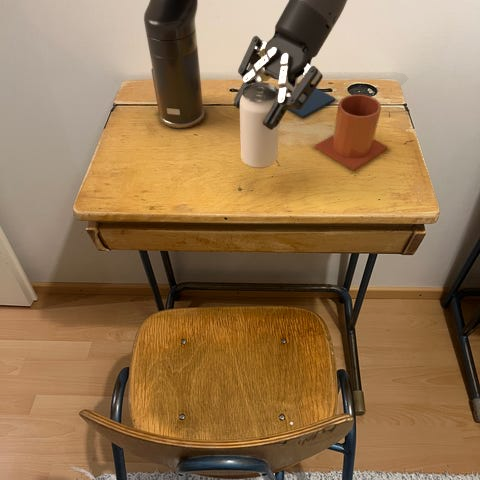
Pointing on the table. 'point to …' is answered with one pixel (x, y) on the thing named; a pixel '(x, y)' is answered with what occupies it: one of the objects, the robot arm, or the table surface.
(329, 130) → the table surface
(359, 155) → the terracotta cup
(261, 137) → the can
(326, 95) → the blue mat
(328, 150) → the terracotta mat
